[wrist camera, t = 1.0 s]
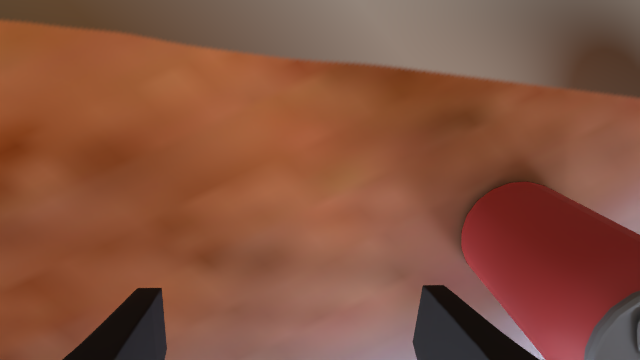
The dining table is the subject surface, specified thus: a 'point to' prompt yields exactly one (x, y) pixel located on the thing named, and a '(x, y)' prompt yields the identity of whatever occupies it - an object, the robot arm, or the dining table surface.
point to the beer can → (558, 271)
